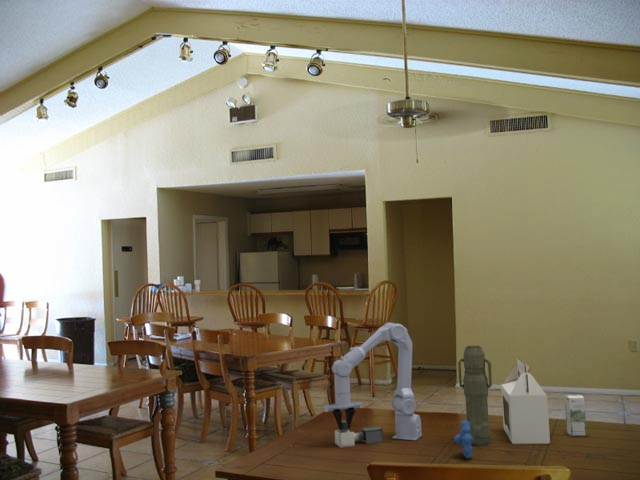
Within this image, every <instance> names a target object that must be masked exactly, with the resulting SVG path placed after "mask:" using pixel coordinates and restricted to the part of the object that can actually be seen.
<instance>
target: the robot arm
mask: <svg viewBox="0 0 640 480" xmlns="http://www.w3.org/2000/svg"><path fill="white" fill-rule="evenodd" d="M385 341H387V342H388V341H392V342H393V343H394V344H395V346H397V348H398V351H397V352H398V354H397V357H398V358H397V381H396V383H397V384H396V385H397V386H396V389H395V390H394V395H393V398H392V400H391V405H392V407H393V409H394V417H395V418H394V419H395V434H394V435H393V436H392V439H396V440H407V441H417V440H419V438H421V437H422V436H423V434H422V421H421V416H420V415H419V414H415V411H416V410H417V409H416V408H417V404H416V401H415V394H414V392H413V391H412V374H413V373H412V371H413V370H412V369H413V368H412V367H413V341H412V339H411V337H410V335H409V333H408V329H407V327H405V326H404V325H402V324H401V323H395V322H390V321H389V322H386V323H384V325H382V326H380V327H379V328H378V329H377V330H376V331H375V332H374V333H373V334H371V336H370V337H369V338H368V339H367V340H366V341H364V342H363V343H362V344H361V345H360V346H354V347H352V346H351V347H350V348H349V351H348V352H347V353H346V354H345V355H344V356H343V355H341V356H340V359H338V360H335V361H334V362H333V364H332V366H331V371H332V373H333V374H334V399H335V401H334V402H335V403H332V404H327V405H323V411H324V412H325V413H327V412H332V414H333V417H334V418H335V421H336V424H337V428H338V429H337V430H342V422H341V420H342V419H343V418H342V416H343V413H342V410H344V411H345V421H347V422H348V429H351V425H352V421H353V417H354V415H355V413H356V409H363V402H362V401H355V402H354V401H353V402H352V401H351V399H352V398H351V382H350V375H351V373H352V370H353V369H354V368H356V366H358V365H359V364H360V363H361V362H362V361H363V360H365V358H366V354H367V353H368V352H369V351H371V350H372V349H373V348H375V347H377V346H378V344H380V343H382V342H385Z"/></svg>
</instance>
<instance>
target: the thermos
mask: <svg viewBox="0 0 640 480" xmlns="http://www.w3.org/2000/svg"><path fill="white" fill-rule="evenodd" d="M485 357H486V356H485V352H484V350H483V347H482V346H480V345H467V346H466V347H465V348H464V351H463V358H460V359H459V361H458V363H457V365H458V366H457V367H458V380H459V387H460V388H462V389H463V395H464V398H465V413H466V414H465V415H466V420H467V421H468V422H469V423H470V424H471V425H470V428H471V431H470V434H471V436H472V437H473V438H474V439H473V441H472V442H471V446H487V445H491V444H492V440H491V439H492V438H491V436H492V431H491V428H492V427H491V425H490V422H489V403H488V396H489V389H490V388H491V387H492V386H493V383H492V382H493V381H492V363H491V361H490V360H489V359H487V358H485ZM461 363H463V368H464V376H463V379H462V369H461V368H462V367H461V366H462V364H461ZM486 363H487V368H488V369H487V370H488V377H487V375H486ZM462 382H463V383H462Z"/></svg>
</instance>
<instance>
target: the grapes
mask: <svg viewBox="0 0 640 480" xmlns="http://www.w3.org/2000/svg"><path fill="white" fill-rule="evenodd" d="M470 425H471V424H470V423H469V422H468V421H467V419H463V420H462V422H461V423H460V429H461V430H460V431H459V433H457V434H455V436H454V437H453V440H454V442H456V444H458V445H460V446H461V448H462V451H461V452H462V454H463V456H464V457H465V458H466V459H470V458H471V457H472V455H473V451H472V450H473V449H474V448H473V445H471V442H472V441H473V439H474V438H473V437H472V436H471V434H470V431H471V428H470Z"/></svg>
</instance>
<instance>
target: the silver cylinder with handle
mask: <svg viewBox="0 0 640 480" xmlns="http://www.w3.org/2000/svg"><path fill="white" fill-rule="evenodd" d="M341 422H342V433H346V430H348V422H347V421H346V419H343V420H342V419H341ZM362 440H364V433H363V432H362V431H361V432H354V441H355V442H356V441H362Z"/></svg>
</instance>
